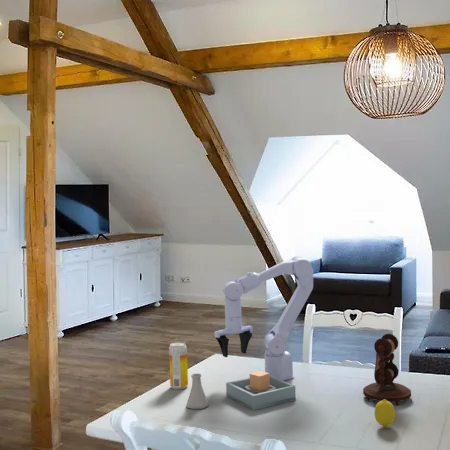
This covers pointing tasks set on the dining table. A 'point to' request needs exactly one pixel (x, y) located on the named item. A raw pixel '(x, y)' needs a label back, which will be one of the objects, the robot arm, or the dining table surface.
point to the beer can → (178, 365)
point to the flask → (197, 394)
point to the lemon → (384, 413)
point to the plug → (259, 381)
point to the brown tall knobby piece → (386, 373)
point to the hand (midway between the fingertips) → (234, 354)
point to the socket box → (260, 393)
